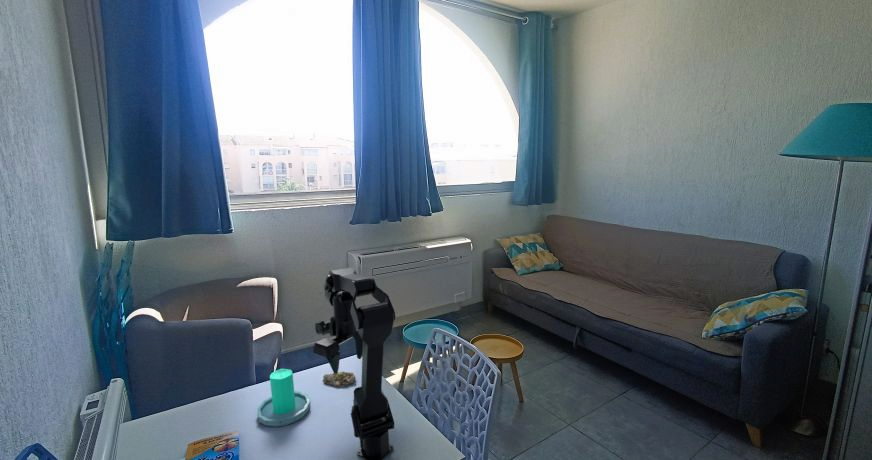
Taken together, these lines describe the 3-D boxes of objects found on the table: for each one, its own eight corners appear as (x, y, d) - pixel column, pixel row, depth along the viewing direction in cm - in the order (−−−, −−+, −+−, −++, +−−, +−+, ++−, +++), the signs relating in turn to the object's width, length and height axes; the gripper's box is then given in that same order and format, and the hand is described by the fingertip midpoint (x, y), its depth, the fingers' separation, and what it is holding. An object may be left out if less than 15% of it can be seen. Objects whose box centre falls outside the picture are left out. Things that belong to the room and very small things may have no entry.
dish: (320, 406, 115) (320, 399, 115) (279, 434, 103) (278, 427, 103) (289, 392, 122) (288, 386, 122) (247, 417, 111) (246, 410, 110)
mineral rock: (358, 367, 132) (352, 374, 124) (359, 381, 132) (352, 388, 124) (327, 368, 133) (318, 374, 125) (327, 381, 132) (318, 389, 124)
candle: (287, 415, 109) (283, 375, 107) (268, 412, 111) (264, 373, 108) (299, 402, 115) (296, 364, 113) (281, 400, 116) (277, 362, 114)
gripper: (347, 298, 121) (350, 345, 124) (297, 319, 106) (301, 373, 108) (375, 304, 115) (377, 354, 118) (326, 327, 100) (330, 384, 103)
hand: (347, 365), depth 112 cm, fingers open, 9 cm apart
